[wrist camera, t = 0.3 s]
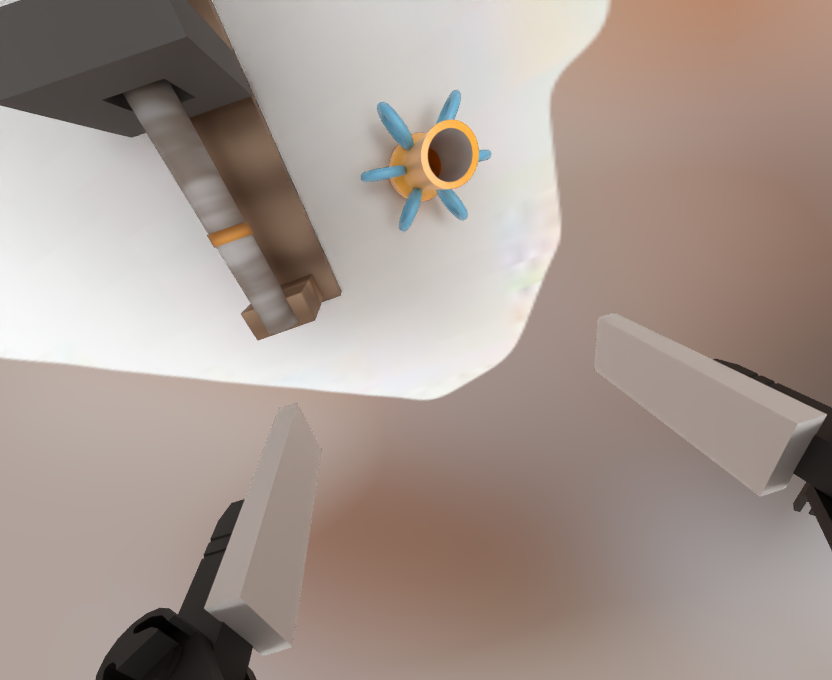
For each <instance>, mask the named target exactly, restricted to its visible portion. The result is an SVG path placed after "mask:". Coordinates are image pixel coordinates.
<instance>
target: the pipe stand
mask: <svg viewBox="0 0 832 680" xmlns="http://www.w3.org/2000/svg"><path fill="white" fill-rule="evenodd" d="M187 1H188V2H189V3H190V4H191V6H192V7H193V8H194V9H195V10H196V11H197V12H198V13H199V14H200V16H201V17H202V18H203V19H204V20H205V21H206V22H207V23H208V24H209V26H210V27H211V28H212V29H213V30H214V31H215V32H216V33H217V34H218V36H219V37H220V38H221V39H222V40H223V41H224V42H225V43H226V44H227V46H228V47H229V48H230V49H231V50H232V51H233V53H234V55H235V57H236V54H235V52H234V50H233V48H232V45H231V43H230V41H229V39H228V37H227V34H226V32H225V30H224V28H223V25H222V23H221V21H220V19H219V16H218V14H217V12H216V10H215V7H214V5H213V3H212V1H211V0H187ZM236 60H237V62H238V64H239V66H240V63H239V61H238V59H237V57H236ZM240 69H241V71H242V73H243V75H244V72H243V70H242V68H241V66H240ZM244 78H245V80H246V82H247V84H248V81H247V79H246V77H245V75H244ZM248 86H249V84H248ZM249 89H250V91H251V93H252V90H251V88H250V86H249ZM123 95H124V97H125V98H126V100H127V102H128V103H129V105H130V106H131V108H132V110H133V111H134V113H135V115H136V116H137V118H138V120H139V121H140V123H141V124H142V126H143V128H144V129H145V131H146V133H147V134H148V136H149V138H150V139H151V141H152V142H153V144H154V146H155V147H156V149H157V151H158V152H159V154H160V156H161V157H162V159H163V160H164V162H165V164H166V165H167V167H168V169H169V170H170V172H171V174H172V175H173V177H174V179H175V180H176V182H177V183H178V185H179V187H180V188H181V190H182V192H183V193H184V195H185V197H186V198H187V200H188V201H189V203H190V205H191V206H192V208H193V210H194V211H195V213H196V215H197V216H198V218H199V219H200V221H201V223H202V224H203V226H204V228H205V229H206V231H207V233H208V234H209V235H207V236H208V238H209V240H210V241H211V243H212V245H213V246H214V247H217V249H218V251H219V252H220V254H221V256H222V257H223V259H224V260H225V262H226V264H227V265H228V267H229V269H230V270H231V272H232V274H233V275H234V277H235V278H236V280H237V282H238V283H239V285H240V287H241V288H242V290H243V292H244V293H245V295H246V296H247V298H248V300H249V301H250V303H251V304H250V305H249V306H248V307H247V308H246V309H245V310H244V311H243V312H242V313H241V315H242V317H243V318H244V320H245V321H246V323H247V325H248V326H249V328H250V329H251V331H252V332H253V334H254V336H255V337H256V339H257V340H261V339H264V338H266V337H269V336H272V335H275V334H278V333H281V332H283V331H286V330H289V329H292V328H295V327H298V326H300V325H303V324H306V323H309V322H312V321H315V319H316V316H317V314H318V311H319V308H320V305H321V303H322V302H324V301H327V300H329V299H332V298H335V297H338V296H341V290H340V288H339V285H338V283H337V281H336V279H335V276H334V274H333V272H332V270H331V267H330V265H329V263H328V261H327V258H326V256H325V254H324V252H323V249H322V247H321V245H320V243H319V241H318V238H317V236H316V234H315V232H314V229H313V227H312V225H311V223H310V220H309V218H308V216H307V214H306V211H305V209H304V207H303V205H302V202H301V200H300V198H299V196H298V193H297V191H296V189H295V187H294V184H293V182H292V180H291V178H290V176H289V173H288V171H287V169H286V167H285V164H284V162H283V160H282V158H281V155H280V153H279V151H278V149H277V146H276V144H275V142H274V140H273V137H272V135H271V133H270V131H269V128H268V126H267V124H266V122H265V119H264V117H263V115H262V113H261V110H260V108H259V106H258V104H257V102H256V99H255V97H254V95H253V93H252V95H253V96H251V97H248V98H245V99H242V100H239V101H236V102H234V103H231V104H228V105H225V106H222V107H219V108H216V109H213V110H210V111H207V112H204V113H202V114H199V115H196V116H193V117H190V118H189V117H188V115H187V114H186V112H185V110H184V108H183V106H182V104H181V103H180V101H179V99H178V97H177V95H176V93H175V91H174V90H173V88H172V86H171V84H170V82H169V81H167V80H165V79H162V80H159V81H156V82H153V83H150V84H147V85H144V86H141V87H138V88H135V89H132V90H129V91H127V92H124V93H123Z"/></svg>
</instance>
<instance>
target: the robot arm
mask: <svg viewBox="0 0 832 680" xmlns="http://www.w3.org/2000/svg"><path fill="white" fill-rule="evenodd" d="M594 370H595V371H596V372H598V373H599V374H601V375H602V376H603V377H604V378H606V379H607V380H608V381H610V382H611V383H612V384H614V385H615V386H616V387H618V388H619V389H620V390H621V391H623V392H624V393H625V394H627V395H628V396H629V397H631V398H632V399H633V400H635V401H636V402H637V403H638V404H640V405H641V406H642V407H644V408H645V409H646V410H648V411H649V412H650V413H651V414H653V415H654V416H655V417H657V418H658V419H659V420H661V421H662V422H663V423H665V424H666V425H667V426H668V427H670V428H671V429H672V430H674V431H675V432H676V433H678V434H679V435H680V436H681V437H683V438H684V439H685V440H687V441H688V442H689V443H691V444H692V445H693V446H695V447H696V448H697V449H699V450H700V451H701V452H702V453H704V454H705V455H706V456H708V457H709V458H710V459H712V460H713V461H714V462H715V463H717V464H718V465H719V466H721V467H722V468H723V469H725V470H726V471H727V472H729V473H730V474H731V475H732V476H734V477H735V478H736V479H738V480H739V481H740V482H742V483H743V484H744V485H746V486H747V487H748V488H749V489H751V490H752V491H753V492H755V493H756V494H757V495H759V496H764V495H767V494H770V493H772V492H776V491H779V490H782V489H785V488H786V486H787V484H788V483H789V481H790V479H791V477H792V476H793V474H795V475H797V476H798V477H800V478H802V479H803V480H805V481H806V483H805V485H804V487H803V488H802V490H801V492H800V493H799V495H798V496H797V498H796V500H795V501H794V503H793V506H794V510H795V511H798V512H800V511H801V510H802V508H803V506H804V505H805V504H806V502H809V504H810V506H811V510H810V512H809V514H810V515H814V516H816V518H817V520H818V522H819V525H820V527H821V529H822V531H823V533H824V535H825V537H826V539H827V541H828V544H829V546H830V548H831V550H832V408H831V407H829V406H827V405H825V404H822V403H820V402H818V401H816V400H814V399H811V398H809V397H807V396H805V395H803V394H801V393H799V392H796V391H794V390H792V389H790V388H788V387H785V386H783V385H781V384H779V383H777V384H775V383H774V381H772V380H770V379H768V378H766V377H764V376H758V374H757V373H755V372H753V371H751V370H749V369H746V368H744V367H742V366H740V365H737V364H734V363H729V362H726V361H723V360H718V359H713V360H712V359H710V358H708V357H706V356H704V355H702V354H700V353H698V352H695V351H693V350H691V349H689V348H687V347H685V346H683V345H681V344H679V343H677V342H675V341H673V340H670V339H668V338H666V337H664V336H662V335H660V334H658V333H656V332H653V331H652V330H650V329H647V328H645V327H643V326H641V325H639V324H637V323H635V322H633V321H631V320H629V319H627V318H624V317H622V316H620V315H618V314H616V313H612V314H608V315H605V316H601V317H598V324H597V338H596V351H595V365H594ZM321 452H322V448H321V447H320V445H319V443H318V441H317V439H316V437H315V435H314V433H313V431H312V430H311V428H310V426H309V424H308V422H307V420H306V418H305V416H304V414H303V413H302V411H301V409H300V407H299V405H298V403H295V404H292V405H288V406H285V407H281V408H279V409H278V412H277V415H276V417H275V420H274V423H273V425H272V428H271V431H270V433H269V436H268V439H267V441H266V444H265V447H264V449H263V452H262V455H261V457H260V460H259V463H258V465H257V468H256V471H255V473H254V476H253V479H252V481H251V484H250V487H249V489H248V492H247V495H246V498H245V499H244V500H240V501H237V502H233V503H231V505H230V506H229V507H228V509H227V510H226V511H225V513H224V514H223V515H222V517H221V518H220V519H219V521H218V523H217V525H216V527H215V530H214V532H213V535H212V537H211V542H210V543H209V544H208V546H207V548H206V551H205V553H204V559H202V560H201V562H200V565H199V567H198V569H197V572H196V574H195V577H194V579H193V581H192V583H191V586H190V588H189V590H188V593H187V595H186V597H185V600H184V602H183V604H182V607H181V609H180V611H179V614H176V613H175V612H173V611H172V610H171V609H169V608H158V609H156V610H154V611H151V612H149V613H147V614H145V615H144V616H143V617H141V618H140V619H138V620H137V621H136V622H134V623H133V624H132V625H131V626H130V627H129V628H128V629H127V630H126V631H125V632H124V633H123V634H122V635H121V636H120V637H119V638H118V639H117V641H116V642H115V644H114V645H113V646H112V648H111V649H110V651H109V652H108V654H107V655H106V656H105V658H104V660H103V663H102V664H101V666H100V669H99V671H98V673H97V675H96V680H256V677H255V675H254V673H253V671H252V670H251V669H250V668H249V667H248V665H249V661H250V657H251V652H252V648H254V649H255V650H256V651H258V652H259V653H260V654H261V655H262V656H265V655H268V654H272V653H275V652H278V651H281V650H284V649H287V648H290V647H293V640H294V634H295V628H296V621H297V614H298V608H299V601H300V594H301V587H302V581H303V573H304V567H305V560H306V553H307V546H308V540H309V532H310V527H311V520H312V513H313V506H314V499H315V493H316V486H317V479H318V472H319V465H320V459H321Z"/></svg>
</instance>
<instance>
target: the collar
mask: <svg viewBox="0 0 832 680" xmlns="http://www.w3.org/2000/svg"><path fill="white" fill-rule="evenodd" d="M162 79H165V80H167V81H169V82H170V84H171V86H172V88H173V90H174V91H175V93H176V95H177V97H178V99H179V101H180V103H181V104H182V106H183V108H184V110H185V112H186V114H187V115H188V117H189V118H190V117H193V116H196V115H199V114H202V113H204V112H207V111H210V110H213V109H216V108H219V107H222V106H225V105H228V104H231V103H234V102H236V101H239V100H242V99H245V98H248V97H251V96H253V95H252V93H251V91H250V89H249V86H248V84H247V82H246V80H245V78H244V75H243V73H242V71H241V69H240V66H239V64H238V62H237V60H236V57H235V55H234V53H233V51H232V50H231V49H230V48H229V47H228V46H227V44H226V43H225V42H224V41H223V40H222V39H221V38H220V37H219V36H218V34H217V33H216V32H215V31H214V30H213V29H212V28H211V27H210V26H209V24H208V23H207V22H206V21H205V20H204V19H203V18H202V17H201V16H200V14H199V13H198V12H197V11H196V10H195V9H194V8H193V7H192V6H191V4H190V3H189V2H188V1H187V0H20V1H17V2H14V3H11V4H8V5H5V6H2V7H0V105H1V106H5V107H9V108H13V109H17V110H21V111H25V112H29V113H33V114H37V115H41V116H46V117H50V118H54V119H58V120H62V121H66V122H70V123H74V124H78V125H82V126H86V127H90V128H94V129H98V130H103V131H107V132H111V133H115V134H119V135H123V136H127V137H131V138H132V137H135V136H138V135H141V134H143V133H146V131H145V129H144V128H143V126H142V124H141V123H140V121H139V120H138V118H137V116H136V115H135V113H134V111H133V110H132V108H131V106H130V105H129V103H128V102H127V100H126V98H125V97H124V95H123V93H124V92H127V91H129V90H132V89H135V88H138V87H141V86H144V85H147V84H150V83H153V82H156V81H159V80H162Z"/></svg>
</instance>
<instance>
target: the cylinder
mask: <svg viewBox="0 0 832 680" xmlns="http://www.w3.org/2000/svg"><path fill="white" fill-rule="evenodd" d="M460 100H461V94H460V92H459V91H458V90H454V91H453V92H452V93H451V94H450V95H449V97H448V99H447V101H446V103H445V105H444V107H443V109H442V111H441V113H440V116H439V118H438V121H437V123H436V125H435V126H434V127H432V128H431V129H430V130H429V131H428V132H427V133H414V134H410V132H409V130H408V128H407V127H406V125H405V124H404V122H403V121H402V119H401V118H400V117H399V115H398V114H397V113H396V112H395V111H394V109H393V108H392V107H391V106H389V105H388V104H387V103H385V102H380V103H379V104H378V105H377V112H378V115H379V117H380V119H381V121H382V122H383V124H384V126H385V127H386V129H387V130H388V131H389V133H390V134H391V135H392V137H393V138H394V139H395V140H396V141H397V143H398V146H397V147H396V148H395V150H394V151H393V153H392V155H391V158H390V161H389V167H385V168H380V169H375V170H370V171H367V172H364V173H362V174H361V180H362V181H363V182H372V181H378V180H384V179H389V178H390V181H391V183H392V186H393V187H394V189H395V190H396V191H397V193H399V194H400V195H401V196H402V197H404V198H406V199H407V201H406V204H405V206H404V209H403V211H402V214H401V218H400V222H399V229H400V230H401V231H406V230H407V229H408V228H409V227H410V225H411V224H412V222H413V220H414V217H415V215H416V213H417V210H418V208H419V205H420V201H427V200H430V199H432V198H434V197H436V196H437V195H438V196H439V197H440V199H441V201H442V202H443V203H444V205H445V206H446V207H447V208H448V210H449V211H450V212H451V213H452V214H453V215H454V216H455V217H457V218H458V219H459V220H466V219H467V217H468V213H467V210H466V208H465V206H464V204H463V203H462V201H461V200H460V199H459V197H458V196H457V195H456V194H455V192H454V191H453V190H452V189H454V188H458V187H460V186H462V185H463V184H465V183H466V182H467V181H468V180H469V179H470V178H471V177H472V175H473V174H474V172H475V170H476V167H477V164H478V162H480V161H484V160H488V159H489V158H490V157H491V152H490V151H489V150H479V148H478V143H477V140H476V137H475V135H474V133H473V132H472V130H471V129H470V128H469V127H468V126H467V125H466V124H464V123H462V122H460V121H457V120H454V118H455V116H456V113H457V111H458V108H459V104H460Z"/></svg>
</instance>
